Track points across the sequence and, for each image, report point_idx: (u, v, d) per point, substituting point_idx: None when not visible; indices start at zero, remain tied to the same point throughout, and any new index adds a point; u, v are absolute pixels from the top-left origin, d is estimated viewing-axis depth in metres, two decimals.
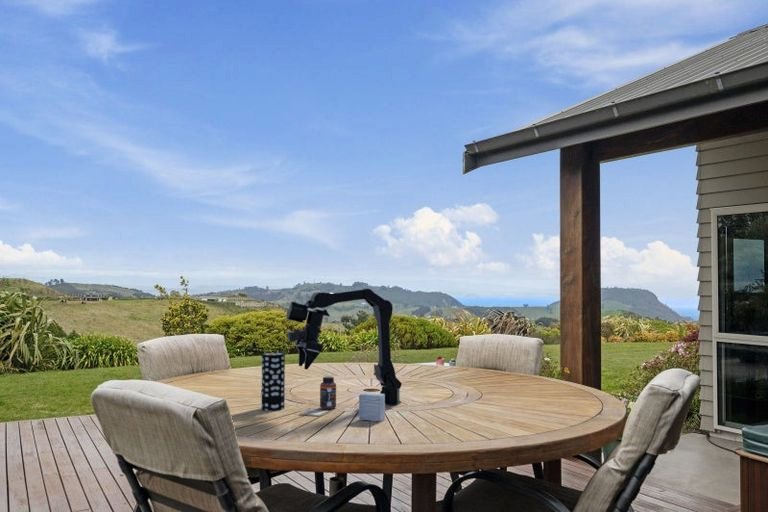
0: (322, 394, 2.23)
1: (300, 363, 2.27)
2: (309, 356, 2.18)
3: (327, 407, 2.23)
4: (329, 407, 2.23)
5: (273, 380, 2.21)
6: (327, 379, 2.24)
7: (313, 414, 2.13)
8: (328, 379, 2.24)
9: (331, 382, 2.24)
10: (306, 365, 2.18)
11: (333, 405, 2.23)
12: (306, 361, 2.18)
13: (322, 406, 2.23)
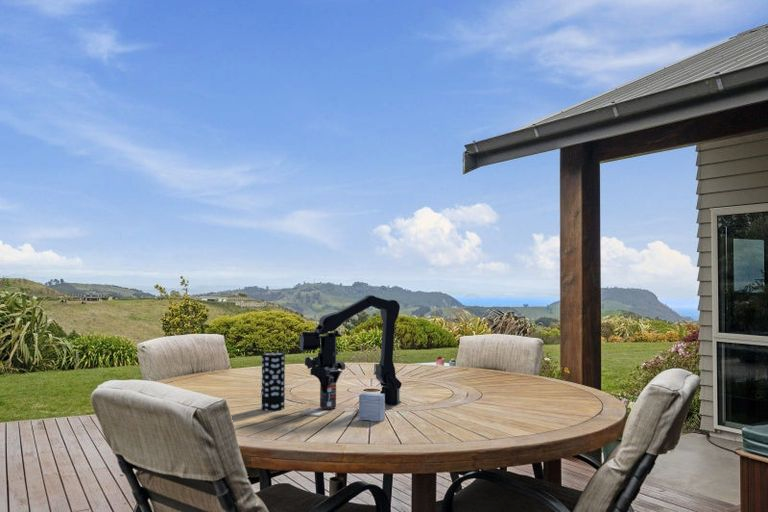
0: (322, 394, 2.23)
1: None
2: (323, 380, 2.22)
3: (327, 407, 2.23)
4: (329, 407, 2.23)
5: (273, 380, 2.21)
6: None
7: (313, 414, 2.13)
8: None
9: (331, 382, 2.24)
10: (323, 389, 2.22)
11: (333, 405, 2.23)
12: (321, 386, 2.22)
13: (322, 406, 2.23)
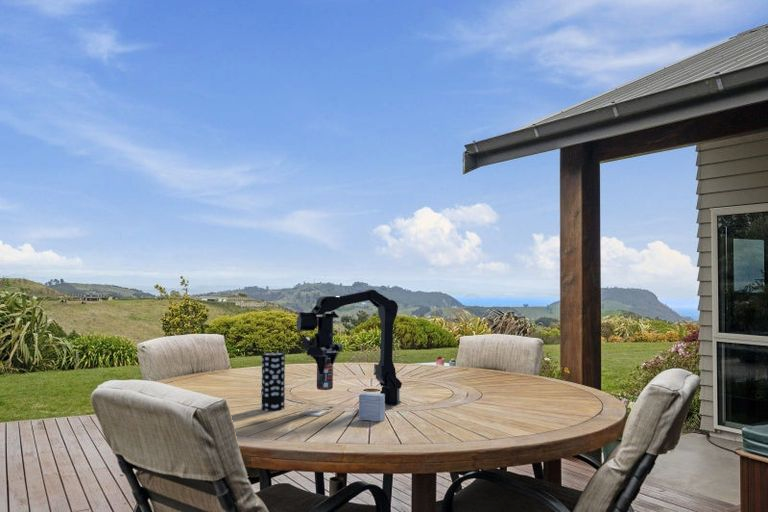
0: (319, 375, 2.22)
1: None
2: (319, 361, 2.20)
3: (324, 388, 2.21)
4: (326, 388, 2.21)
5: (273, 380, 2.21)
6: None
7: (313, 414, 2.13)
8: None
9: (328, 363, 2.23)
10: (320, 370, 2.21)
11: (330, 386, 2.22)
12: (318, 366, 2.21)
13: (319, 387, 2.22)
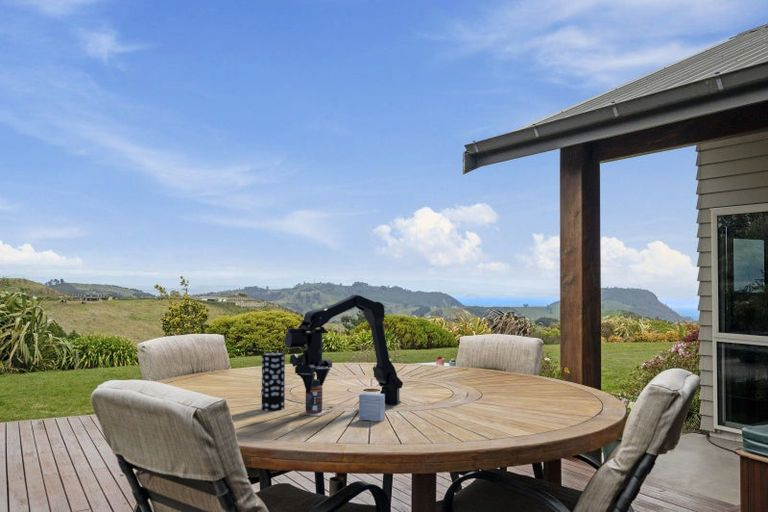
0: (308, 398, 2.14)
1: None
2: (306, 379, 2.11)
3: (313, 411, 2.13)
4: (315, 411, 2.14)
5: (273, 380, 2.21)
6: (313, 382, 2.15)
7: (313, 414, 2.13)
8: (314, 382, 2.15)
9: (317, 385, 2.15)
10: (307, 389, 2.12)
11: (319, 409, 2.14)
12: (305, 385, 2.12)
13: (307, 410, 2.14)
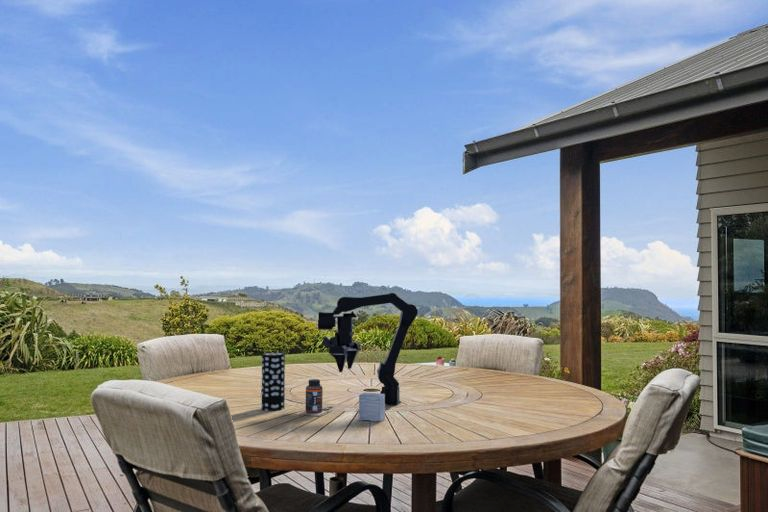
0: (308, 398, 2.14)
1: (348, 366, 2.38)
2: (339, 359, 2.28)
3: (313, 411, 2.13)
4: (315, 411, 2.14)
5: (273, 380, 2.21)
6: (313, 382, 2.15)
7: (313, 414, 2.13)
8: (314, 382, 2.15)
9: (317, 385, 2.15)
10: (339, 368, 2.29)
11: (319, 409, 2.14)
12: (338, 365, 2.29)
13: (307, 410, 2.14)
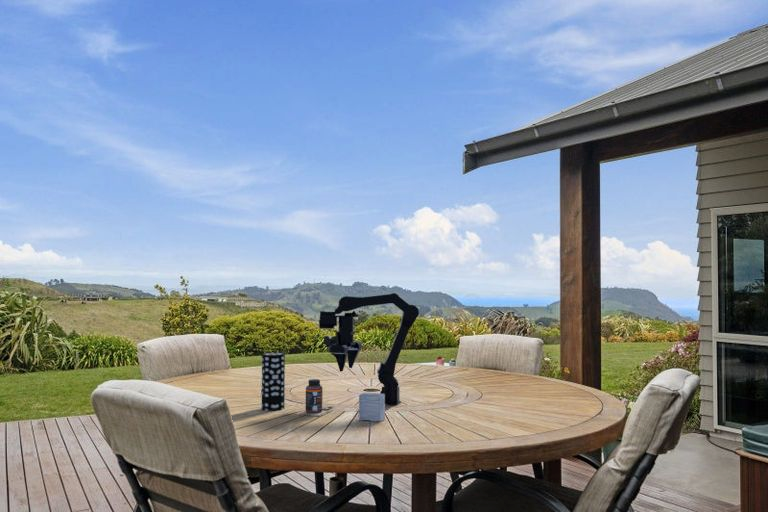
0: (308, 398, 2.14)
1: (349, 365, 2.39)
2: (339, 358, 2.29)
3: (313, 411, 2.13)
4: (315, 411, 2.14)
5: (273, 380, 2.21)
6: (313, 382, 2.15)
7: (313, 414, 2.13)
8: (314, 382, 2.15)
9: (317, 385, 2.15)
10: (340, 367, 2.30)
11: (319, 409, 2.14)
12: (338, 364, 2.30)
13: (307, 410, 2.14)
